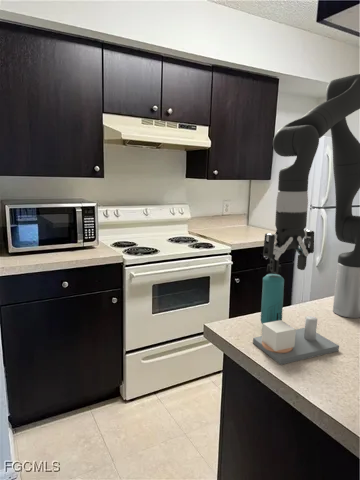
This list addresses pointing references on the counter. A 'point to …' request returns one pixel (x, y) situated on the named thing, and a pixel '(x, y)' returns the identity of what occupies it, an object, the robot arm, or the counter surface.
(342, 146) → the robot arm
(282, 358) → the post board
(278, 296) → the beverage bottle
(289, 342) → the off-white matte cube
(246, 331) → the counter surface
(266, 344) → the tan flat disc
